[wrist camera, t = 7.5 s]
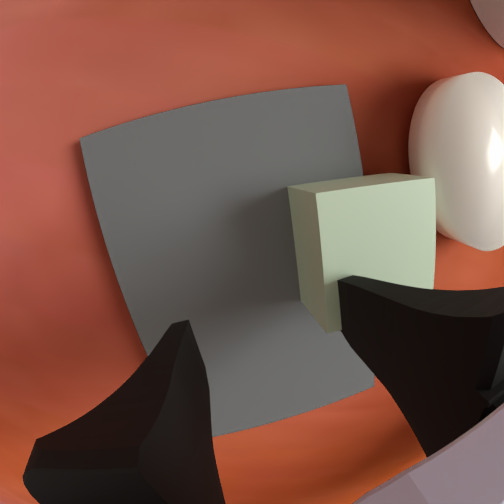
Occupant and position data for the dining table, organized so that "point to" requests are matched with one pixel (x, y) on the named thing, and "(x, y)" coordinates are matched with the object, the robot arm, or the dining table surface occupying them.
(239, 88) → the dining table surface
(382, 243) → the pale green square block
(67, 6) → the dining table surface
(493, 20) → the coffee cup
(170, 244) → the mat
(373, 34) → the dining table surface
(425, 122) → the white shallow dome
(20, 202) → the dining table surface
